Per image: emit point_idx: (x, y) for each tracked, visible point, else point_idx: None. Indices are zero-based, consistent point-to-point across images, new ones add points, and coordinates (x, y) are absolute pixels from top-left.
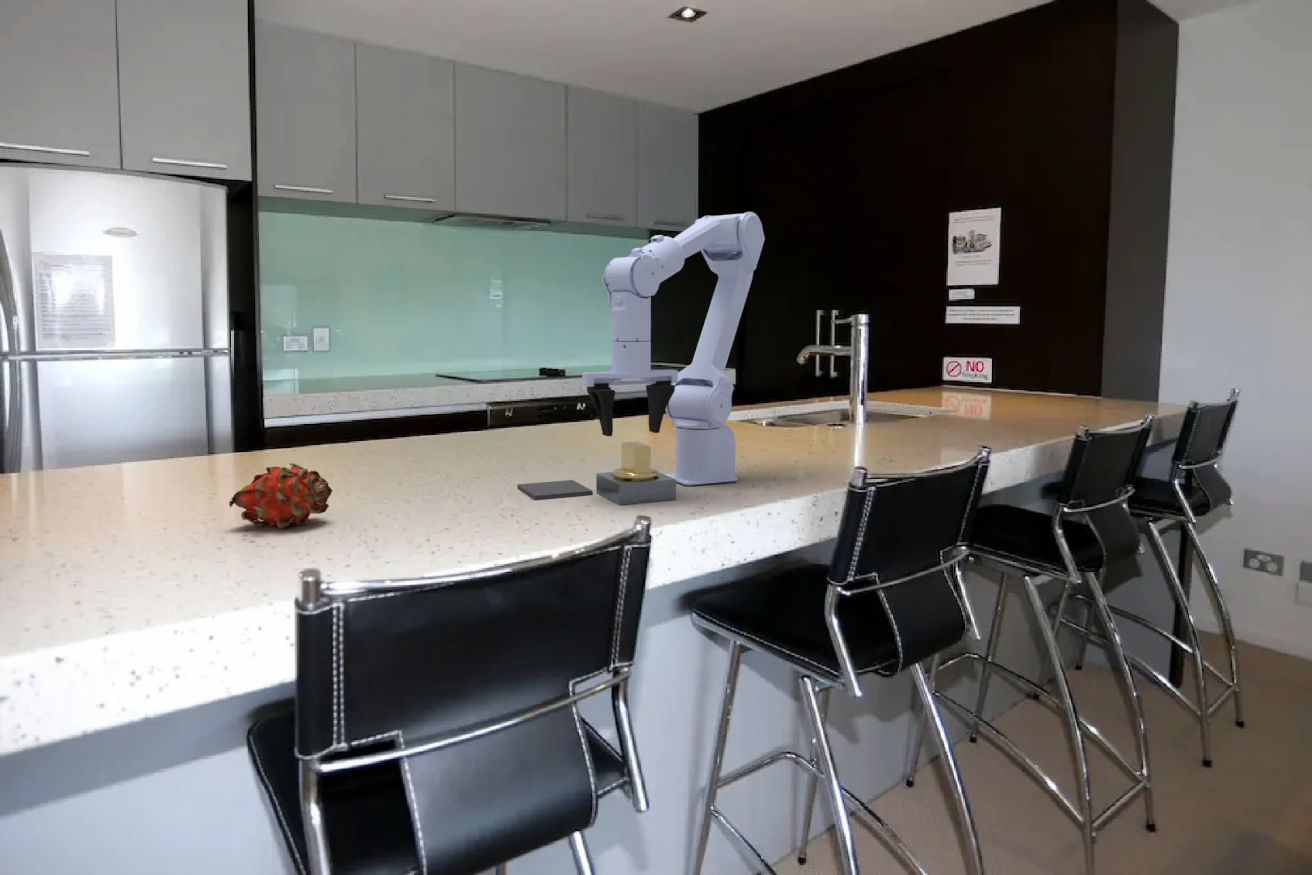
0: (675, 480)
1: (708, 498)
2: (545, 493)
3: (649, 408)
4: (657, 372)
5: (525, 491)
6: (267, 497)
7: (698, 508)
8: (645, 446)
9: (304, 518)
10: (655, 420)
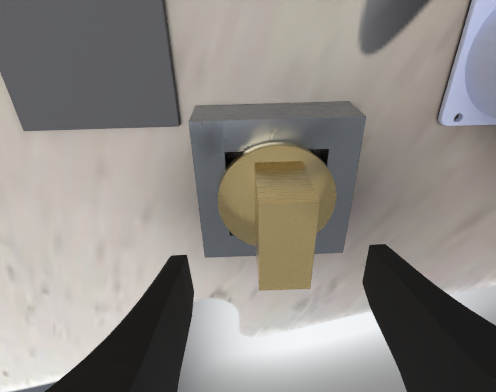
0: (340, 251)
1: (392, 234)
2: (52, 114)
3: (421, 310)
4: None
5: None
6: None
7: (327, 285)
8: (295, 286)
9: None
10: (382, 317)
